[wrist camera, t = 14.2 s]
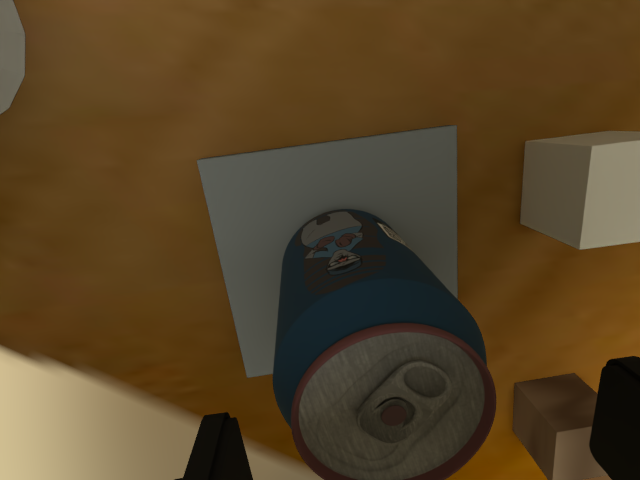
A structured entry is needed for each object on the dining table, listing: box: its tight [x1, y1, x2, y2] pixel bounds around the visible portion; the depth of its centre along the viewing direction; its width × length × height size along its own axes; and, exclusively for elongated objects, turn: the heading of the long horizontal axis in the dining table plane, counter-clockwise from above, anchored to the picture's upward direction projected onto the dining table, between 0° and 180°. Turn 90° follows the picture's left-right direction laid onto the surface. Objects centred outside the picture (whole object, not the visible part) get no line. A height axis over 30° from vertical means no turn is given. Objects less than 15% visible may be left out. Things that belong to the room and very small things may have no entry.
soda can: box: [273, 209, 496, 480], centre depth 15 cm, size 7×7×12 cm
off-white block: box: [520, 131, 640, 250], centre depth 19 cm, size 5×5×5 cm
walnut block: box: [513, 373, 608, 480], centre depth 25 cm, size 4×4×4 cm
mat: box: [197, 125, 458, 378], centre depth 22 cm, size 14×14×1 cm
